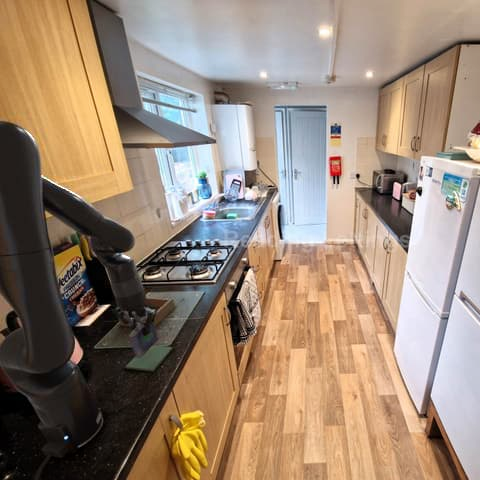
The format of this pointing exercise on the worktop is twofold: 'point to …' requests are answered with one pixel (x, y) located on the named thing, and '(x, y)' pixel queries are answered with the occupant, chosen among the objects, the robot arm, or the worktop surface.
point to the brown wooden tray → (163, 304)
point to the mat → (150, 358)
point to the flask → (142, 340)
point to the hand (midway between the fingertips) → (142, 333)
